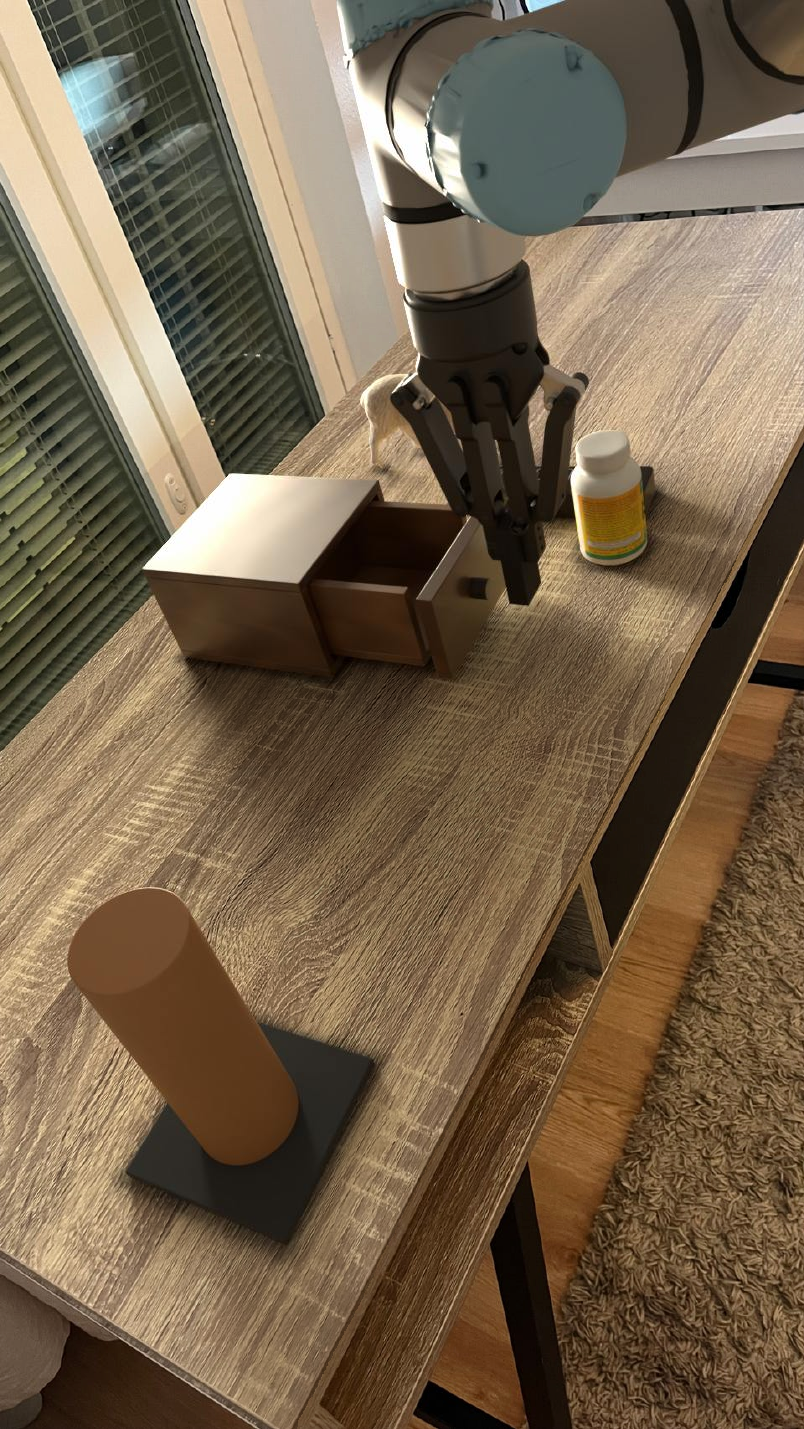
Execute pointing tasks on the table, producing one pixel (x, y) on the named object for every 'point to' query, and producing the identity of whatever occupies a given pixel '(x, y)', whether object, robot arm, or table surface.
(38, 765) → the table surface
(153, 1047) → the brown cylinder
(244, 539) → the cabinet
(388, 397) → the figurine
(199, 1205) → the mat
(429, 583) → the drawer
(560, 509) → the multiport hub
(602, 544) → the supplement bottle
